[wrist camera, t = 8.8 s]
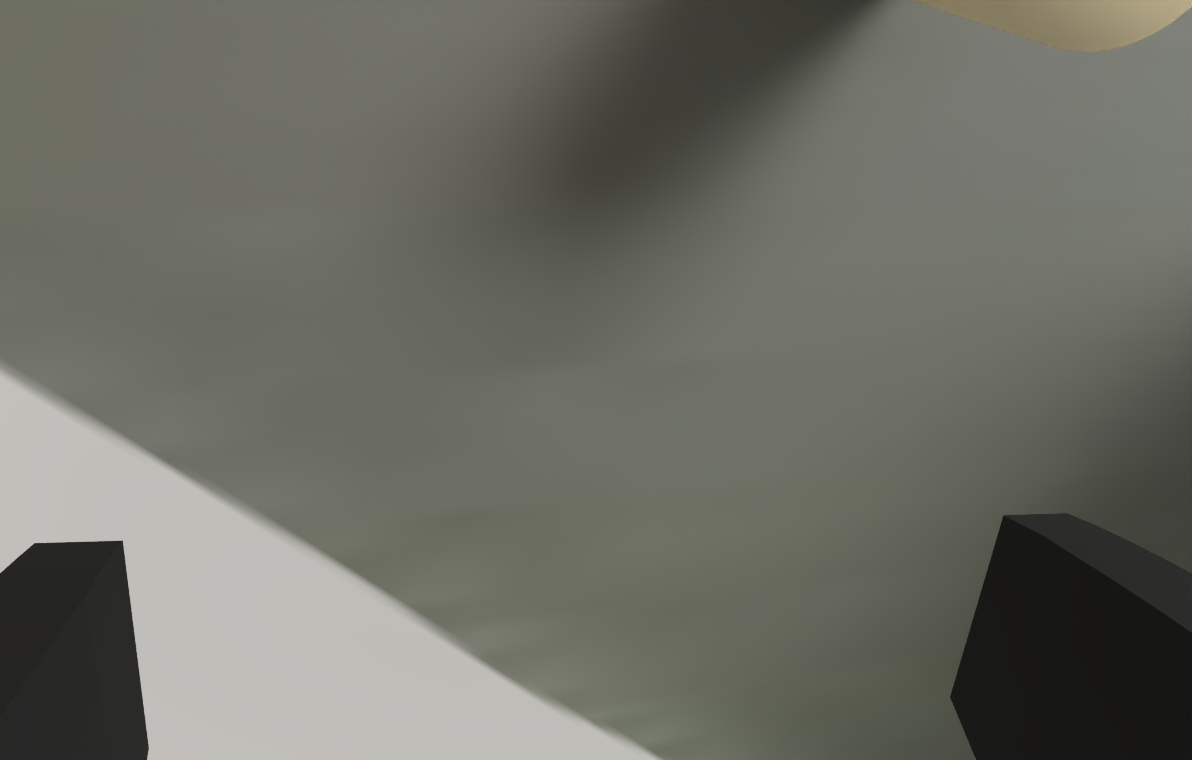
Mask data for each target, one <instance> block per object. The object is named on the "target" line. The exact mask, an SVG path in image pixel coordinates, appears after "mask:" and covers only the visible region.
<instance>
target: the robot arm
mask: <svg viewBox="0 0 1192 760" xmlns="http://www.w3.org/2000/svg"><path fill="white" fill-rule="evenodd" d="M950 698H951V700H952V703H953V705H954V707H955V710H956V712H957V715H958V717H959V719H960V722H961V724H962V727H963V729H964V731H965V734H966V736H967V739H968V741H969V743H970V746H971V748H972V751H973V753H974V755H975V758H976V760H1192V574H1191V573H1190V572H1188V571H1186V570H1184V569H1182V568H1180V567H1178V566H1176V565H1174V564H1172V563H1170V562H1169V561H1167V560H1165V559H1163V558H1161V557H1159V556H1157V555H1155V554H1153V553H1151V552H1149V551H1147V550H1145V549H1143V548H1141V547H1139V546H1137V545H1135V544H1133V543H1131V542H1129V541H1127V540H1125V539H1123V538H1121V537H1119V536H1117V535H1115V534H1113V533H1111V532H1108V531H1106V530H1104V529H1102V528H1100V527H1098V526H1095V525H1093V524H1091V523H1088V522H1086V521H1084V520H1081V519H1079V518H1076V517H1074V516H1072V515H1069V514H1034V515H1004V516H1003V519H1002V522H1001V526H1000V529H999V533H998V536H997V539H996V543H995V546H994V550H993V553H992V556H991V560H990V563H989V567H988V570H987V573H986V577H985V580H984V584H983V587H982V590H981V594H980V597H979V601H978V604H977V608H976V611H975V614H974V618H973V621H972V625H971V628H970V631H969V635H968V638H967V642H966V645H965V648H964V652H963V655H962V659H961V662H960V665H959V669H958V672H957V676H956V679H955V682H954V686H953V689H952V693H951V696H950ZM148 749H149V747H148V739H147V731H146V724H145V715H144V707H143V699H142V691H141V683H140V676H139V668H138V659H137V652H136V644H135V636H134V628H133V621H132V612H131V604H130V596H129V588H128V581H127V572H126V565H125V556H124V548H123V541H104V542H103V541H99V542H66V543H34V544H33V545H32V546H31V547H30V548H29V549H27V550H26V551H25V552H24V553H23V554H22V555H20V556H19V557H18V558H17V559H16V560H15V561H14V562H13V563H11V564H10V565H9V566H8V567H7V568H6V569H5V570H4V571H2V572H1V573H0V760H147V755H148Z"/></svg>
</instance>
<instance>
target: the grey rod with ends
mask: <svg viewBox="0 0 1192 760" xmlns="http://www.w3.org/2000/svg"><path fill="white" fill-rule="evenodd" d="M911 1H914V2H917V3H920V4H923V5H926V6H929V7H932V8H935V9H938V10H941V11H944V12H947V13H950V14H953V15H956V16H959V17H962V18H965V19H968V20H971V21H974V22H977V23H980V24H983V25H986V26H989V27H992V28H995V29H998V30H1001V31H1004V32H1007V33H1010V34H1013V35H1016V36H1019V37H1022V38H1025V39H1028V40H1032V41H1035V42H1038V43H1041V44H1044V45H1047V46H1050V47H1053V48H1057V49H1061V50H1066V51H1072V52H1099V51H1107V50H1111V49H1116V48H1121V47H1124V46H1126V45H1129V44H1132V43H1135V42H1138V41H1140V40H1142V39H1144V38H1146V37H1148V36H1150V35H1152V34H1154V33H1156V32H1158V31H1159V30H1161V29H1163V28H1164V27H1166V26H1167V25H1169V24H1170V23H1172V22H1173V21H1175V20H1176V19H1177V18H1178V17H1180V16H1181V15H1182V14H1183V13H1185V12H1186V11H1187V10H1188V9H1190V8H1191V7H1192V0H911Z"/></svg>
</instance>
